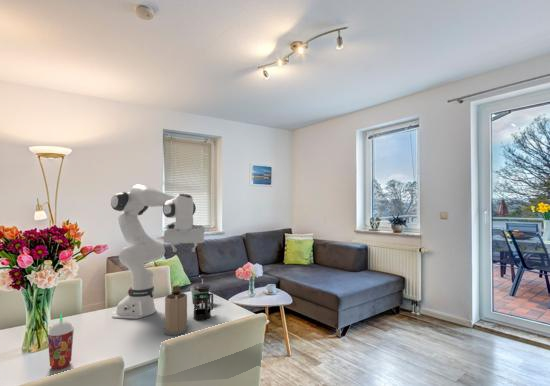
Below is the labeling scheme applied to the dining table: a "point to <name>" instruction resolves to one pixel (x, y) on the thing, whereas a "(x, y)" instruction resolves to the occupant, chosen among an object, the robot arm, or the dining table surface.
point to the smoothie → (60, 343)
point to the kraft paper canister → (175, 315)
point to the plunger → (176, 290)
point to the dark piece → (197, 293)
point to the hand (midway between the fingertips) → (184, 251)
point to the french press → (202, 308)
